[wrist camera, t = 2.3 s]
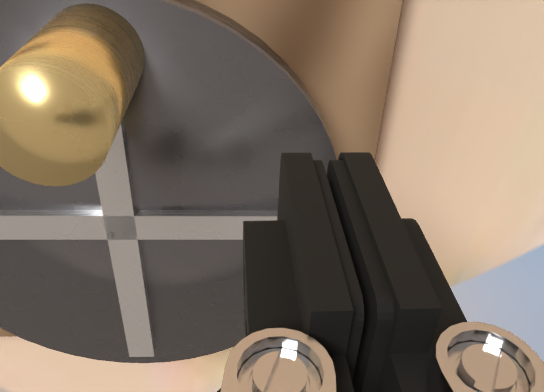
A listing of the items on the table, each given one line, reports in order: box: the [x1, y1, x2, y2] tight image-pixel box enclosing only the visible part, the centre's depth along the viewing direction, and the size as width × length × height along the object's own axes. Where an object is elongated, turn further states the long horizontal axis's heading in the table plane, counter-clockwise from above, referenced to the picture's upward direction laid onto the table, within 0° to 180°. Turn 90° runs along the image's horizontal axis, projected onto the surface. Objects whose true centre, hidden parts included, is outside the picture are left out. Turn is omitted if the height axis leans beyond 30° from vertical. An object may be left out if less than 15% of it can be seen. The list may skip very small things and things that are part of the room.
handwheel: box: [0, 0, 336, 363], centre depth 20 cm, size 18×18×9 cm
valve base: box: [0, 0, 403, 336], centre depth 24 cm, size 22×22×2 cm
